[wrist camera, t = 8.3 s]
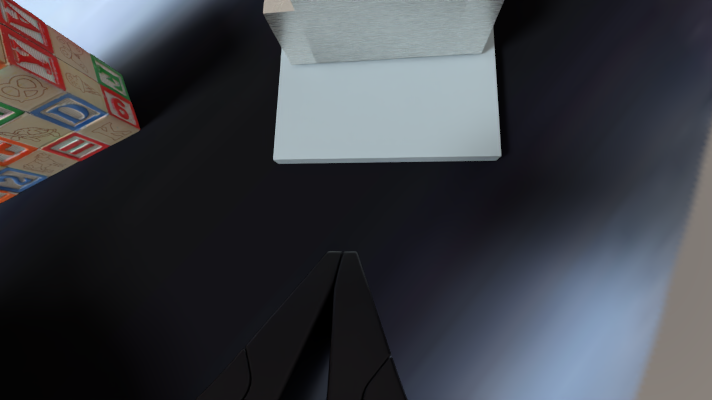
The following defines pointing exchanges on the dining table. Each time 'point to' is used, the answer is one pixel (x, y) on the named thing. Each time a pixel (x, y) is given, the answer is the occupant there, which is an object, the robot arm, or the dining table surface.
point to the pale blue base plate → (389, 110)
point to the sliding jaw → (379, 28)
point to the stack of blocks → (52, 102)
